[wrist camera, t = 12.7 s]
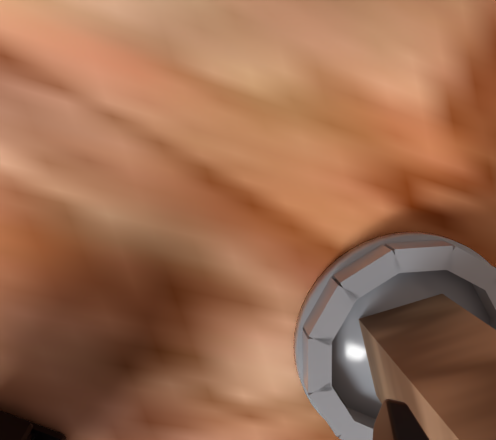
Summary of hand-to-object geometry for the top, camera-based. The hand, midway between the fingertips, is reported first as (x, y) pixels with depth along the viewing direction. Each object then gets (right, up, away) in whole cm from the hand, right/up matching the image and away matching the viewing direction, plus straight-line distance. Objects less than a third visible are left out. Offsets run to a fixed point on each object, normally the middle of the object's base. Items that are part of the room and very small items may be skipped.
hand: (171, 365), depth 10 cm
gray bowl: (+10, -3, +15) cm, 18 cm away
